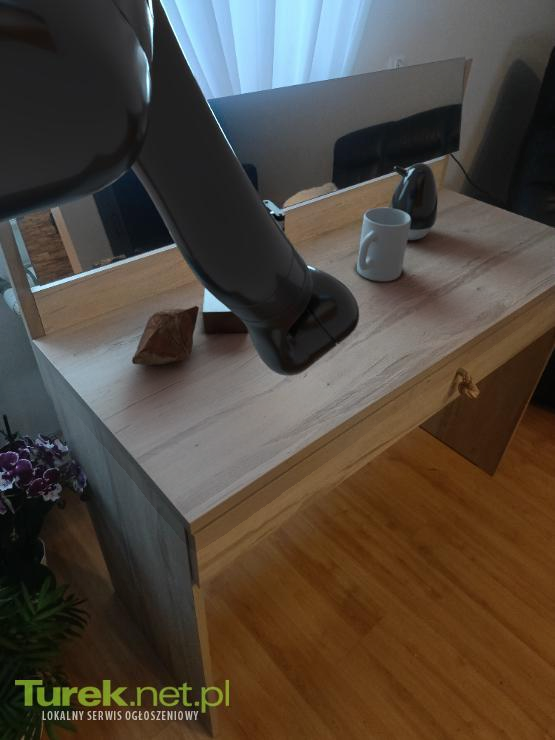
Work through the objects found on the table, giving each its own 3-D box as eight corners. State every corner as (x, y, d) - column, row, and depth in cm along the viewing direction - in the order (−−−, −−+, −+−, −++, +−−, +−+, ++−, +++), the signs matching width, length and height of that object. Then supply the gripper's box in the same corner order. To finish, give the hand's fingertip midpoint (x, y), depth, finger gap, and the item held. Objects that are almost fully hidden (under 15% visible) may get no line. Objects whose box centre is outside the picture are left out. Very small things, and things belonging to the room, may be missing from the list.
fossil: (193, 303, 79) (181, 276, 70) (223, 342, 78) (216, 320, 68) (126, 350, 77) (105, 328, 68) (157, 391, 76) (139, 375, 66)
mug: (371, 256, 100) (378, 203, 93) (408, 269, 96) (420, 215, 89) (338, 278, 93) (344, 223, 86) (377, 294, 89) (387, 237, 82)
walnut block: (204, 333, 79) (202, 312, 77) (206, 305, 85) (205, 285, 83) (248, 331, 80) (247, 311, 77) (247, 305, 86) (246, 284, 83)
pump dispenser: (384, 223, 113) (395, 154, 103) (430, 227, 111) (446, 157, 102) (382, 242, 105) (394, 169, 96) (432, 247, 104) (449, 174, 94)
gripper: (308, 213, 59) (263, 170, 71) (189, 229, 55) (162, 181, 67) (305, 270, 63) (263, 221, 75) (195, 289, 60) (169, 234, 72)
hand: (216, 202), depth 71 cm, fingers closed on bottle, 6 cm apart
